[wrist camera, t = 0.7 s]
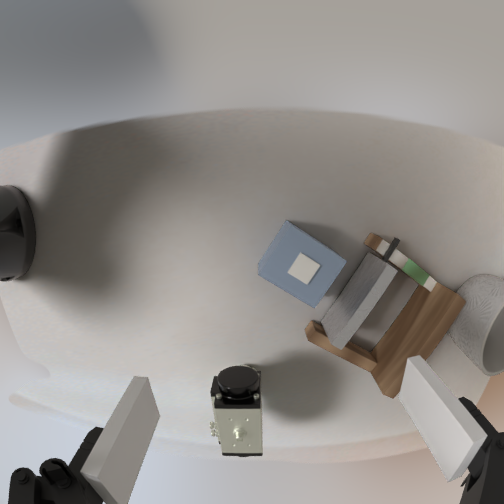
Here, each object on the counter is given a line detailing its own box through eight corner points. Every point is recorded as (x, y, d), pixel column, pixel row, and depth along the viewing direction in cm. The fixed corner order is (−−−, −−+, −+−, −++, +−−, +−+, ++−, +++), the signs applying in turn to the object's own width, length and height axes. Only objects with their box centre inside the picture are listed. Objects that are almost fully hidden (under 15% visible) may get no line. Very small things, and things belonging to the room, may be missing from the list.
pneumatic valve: (260, 341, 37) (260, 401, 25) (262, 407, 39) (262, 469, 27) (217, 341, 37) (201, 400, 25) (224, 407, 39) (215, 468, 27)
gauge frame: (304, 329, 36) (315, 363, 28) (370, 232, 33) (399, 244, 26) (373, 365, 37) (393, 398, 29) (433, 281, 35) (466, 301, 27)
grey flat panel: (320, 321, 36) (331, 344, 30) (381, 231, 33) (403, 239, 27) (329, 326, 36) (341, 350, 30) (389, 237, 33) (412, 246, 27)
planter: (499, 307, 35) (539, 332, 25) (451, 356, 37) (486, 391, 26) (483, 250, 34) (532, 268, 23) (428, 303, 35) (472, 336, 25)
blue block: (258, 263, 35) (258, 275, 30) (286, 219, 34) (291, 225, 28) (307, 292, 35) (315, 309, 30) (335, 251, 34) (347, 262, 29)
